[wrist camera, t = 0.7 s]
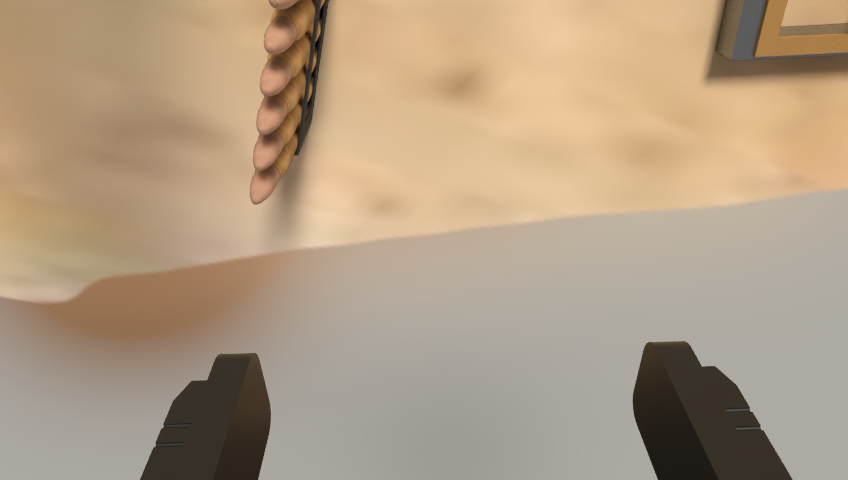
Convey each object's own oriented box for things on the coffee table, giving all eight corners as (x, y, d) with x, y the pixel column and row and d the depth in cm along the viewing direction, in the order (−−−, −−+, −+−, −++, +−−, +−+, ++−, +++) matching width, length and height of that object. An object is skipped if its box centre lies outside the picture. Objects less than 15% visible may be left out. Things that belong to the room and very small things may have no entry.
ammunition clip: (310, 125, 38) (273, 224, 28) (280, 119, 38) (232, 216, 28) (337, -59, 32) (302, -18, 22) (302, -68, 32) (251, -30, 22)
